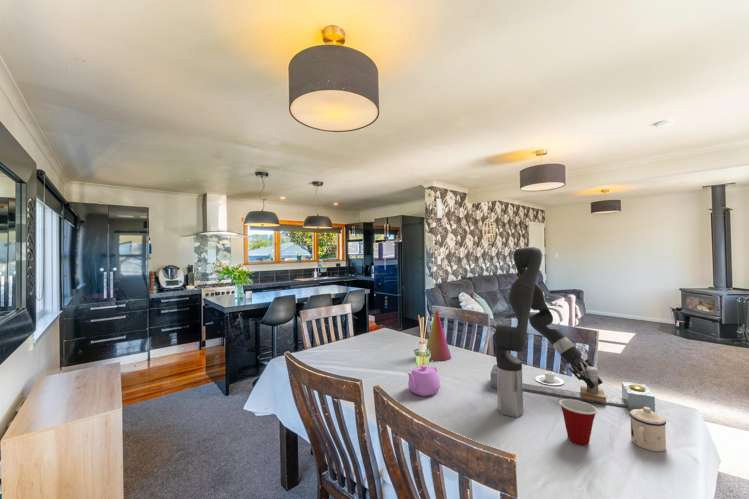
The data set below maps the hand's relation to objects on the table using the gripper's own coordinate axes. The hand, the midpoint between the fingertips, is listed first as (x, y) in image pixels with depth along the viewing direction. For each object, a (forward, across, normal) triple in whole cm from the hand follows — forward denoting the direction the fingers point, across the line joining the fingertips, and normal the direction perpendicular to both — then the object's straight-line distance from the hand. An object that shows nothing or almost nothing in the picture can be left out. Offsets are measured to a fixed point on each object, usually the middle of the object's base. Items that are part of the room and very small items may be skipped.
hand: (597, 385), depth 136 cm
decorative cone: (-52, -14, +61) cm, 82 cm away
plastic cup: (+12, -36, -2) cm, 38 cm away
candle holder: (-11, +4, +21) cm, 24 cm away
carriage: (+2, 0, +5) cm, 5 cm away
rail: (-3, -5, +12) cm, 13 cm away
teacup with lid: (+21, -21, -12) cm, 32 cm away
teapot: (-29, -53, +39) cm, 72 cm away
